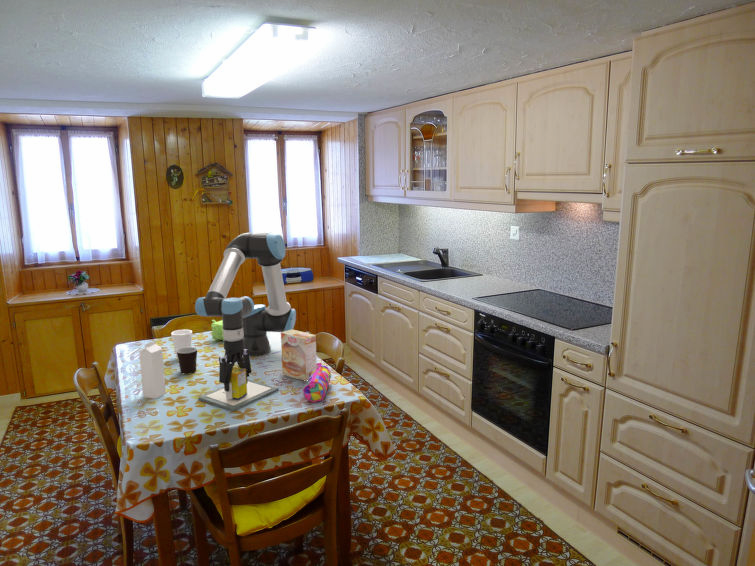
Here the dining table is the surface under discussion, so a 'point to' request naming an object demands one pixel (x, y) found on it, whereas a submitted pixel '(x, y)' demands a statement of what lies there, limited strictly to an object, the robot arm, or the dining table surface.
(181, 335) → the foam cup
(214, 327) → the green lumpy block
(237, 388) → the supplement box
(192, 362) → the coffee mug
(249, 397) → the paper pad
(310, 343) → the coffeecake box
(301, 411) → the dining table surface
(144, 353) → the milk
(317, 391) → the pencil case
